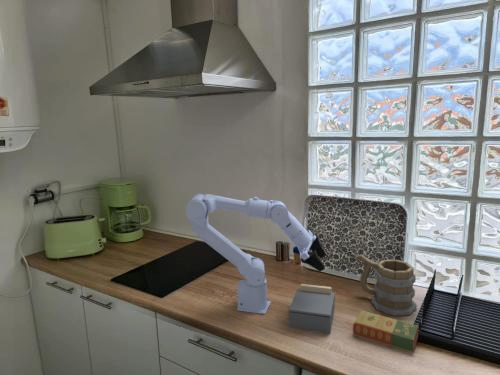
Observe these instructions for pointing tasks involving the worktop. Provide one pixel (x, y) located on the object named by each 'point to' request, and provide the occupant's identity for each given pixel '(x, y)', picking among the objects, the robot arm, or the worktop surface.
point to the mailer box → (311, 321)
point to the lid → (313, 300)
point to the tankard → (390, 285)
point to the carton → (386, 331)
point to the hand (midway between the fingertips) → (323, 262)
